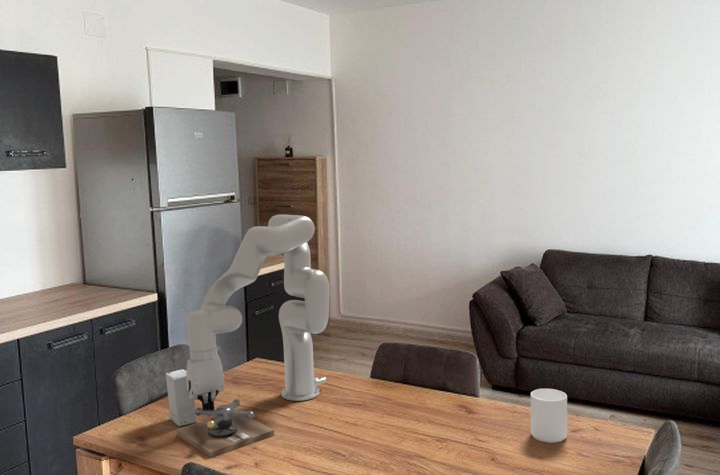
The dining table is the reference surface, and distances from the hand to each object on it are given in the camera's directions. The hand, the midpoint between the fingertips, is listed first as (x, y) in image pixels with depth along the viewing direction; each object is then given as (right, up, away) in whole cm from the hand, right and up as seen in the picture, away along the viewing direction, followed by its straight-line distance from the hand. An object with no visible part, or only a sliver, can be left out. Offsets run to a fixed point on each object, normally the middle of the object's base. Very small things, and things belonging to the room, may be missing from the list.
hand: (208, 414), depth 193 cm
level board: (+6, -5, -4) cm, 8 cm away
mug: (+96, -3, -11) cm, 96 cm away
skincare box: (-10, -4, +8) cm, 13 cm away
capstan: (+6, -3, -4) cm, 8 cm away
